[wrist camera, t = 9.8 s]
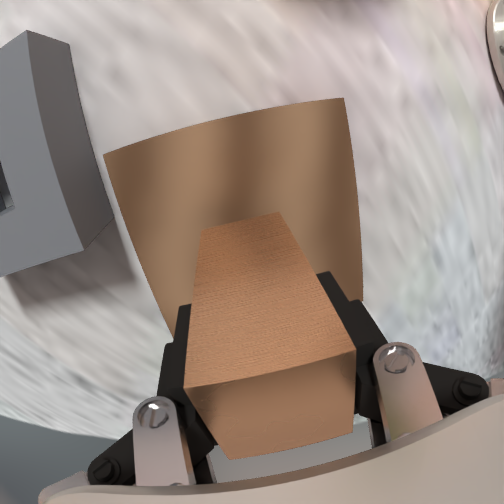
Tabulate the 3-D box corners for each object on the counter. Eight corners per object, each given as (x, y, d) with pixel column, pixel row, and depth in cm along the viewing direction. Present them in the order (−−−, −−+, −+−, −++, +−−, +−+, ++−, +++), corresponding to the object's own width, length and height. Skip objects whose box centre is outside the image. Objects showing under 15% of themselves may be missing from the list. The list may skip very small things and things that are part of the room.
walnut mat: (337, 98, 16) (343, 97, 15) (358, 293, 22) (363, 301, 21) (108, 152, 16) (102, 154, 15) (177, 335, 22) (176, 344, 22)
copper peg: (279, 211, 15) (356, 349, 6) (291, 278, 17) (352, 432, 8) (201, 230, 15) (183, 388, 6) (221, 295, 17) (229, 459, 8)
